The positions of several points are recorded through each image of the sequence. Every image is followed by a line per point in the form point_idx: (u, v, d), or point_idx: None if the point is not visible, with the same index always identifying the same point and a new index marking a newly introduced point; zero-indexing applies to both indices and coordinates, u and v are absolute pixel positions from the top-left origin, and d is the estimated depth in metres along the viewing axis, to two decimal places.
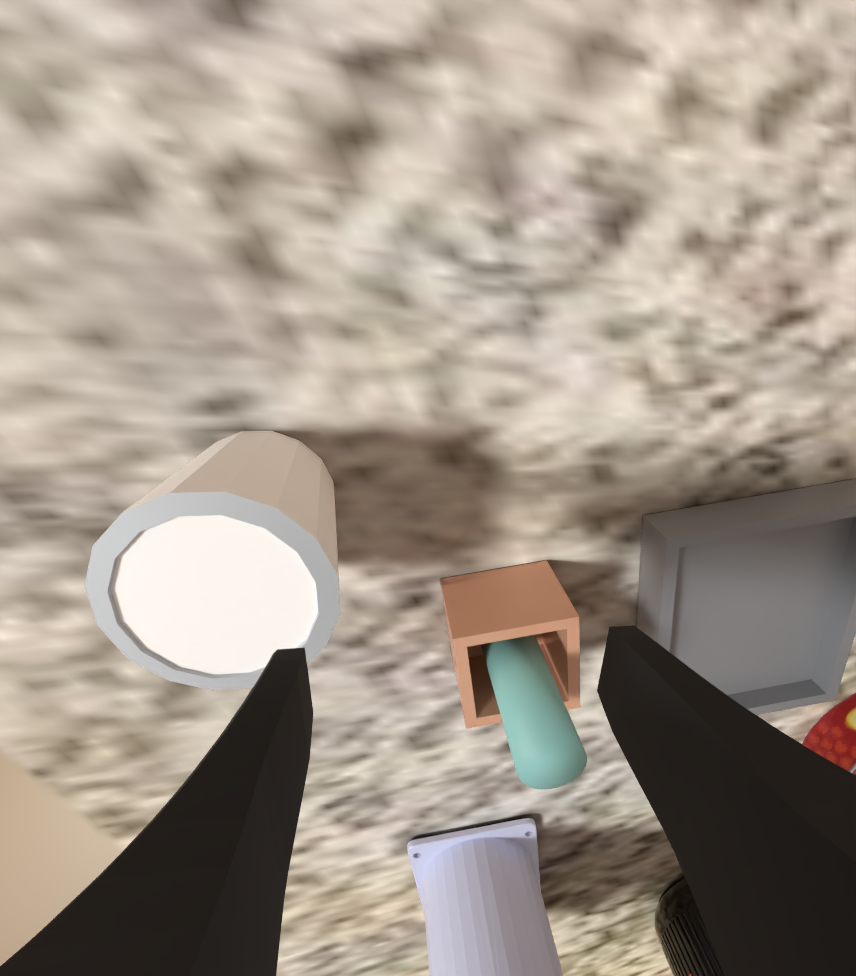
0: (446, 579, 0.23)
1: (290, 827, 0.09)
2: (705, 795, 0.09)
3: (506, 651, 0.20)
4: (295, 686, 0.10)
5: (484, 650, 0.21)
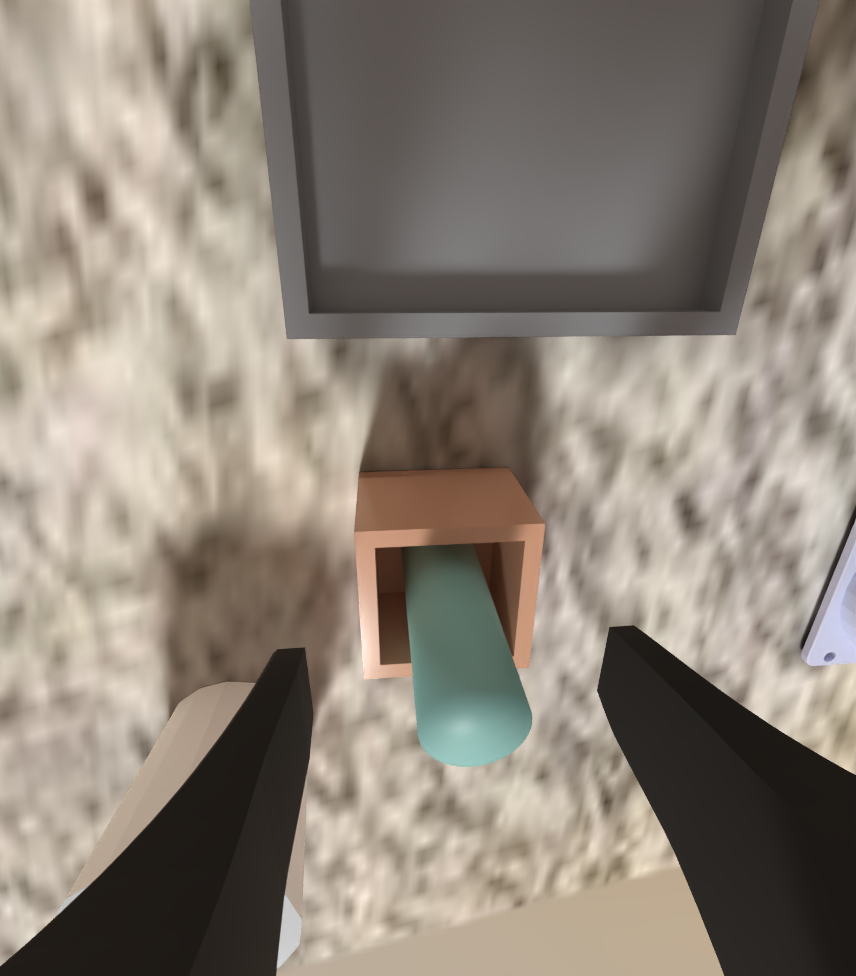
0: None
1: (290, 827, 0.09)
2: (705, 795, 0.09)
3: None
4: (295, 686, 0.10)
5: None
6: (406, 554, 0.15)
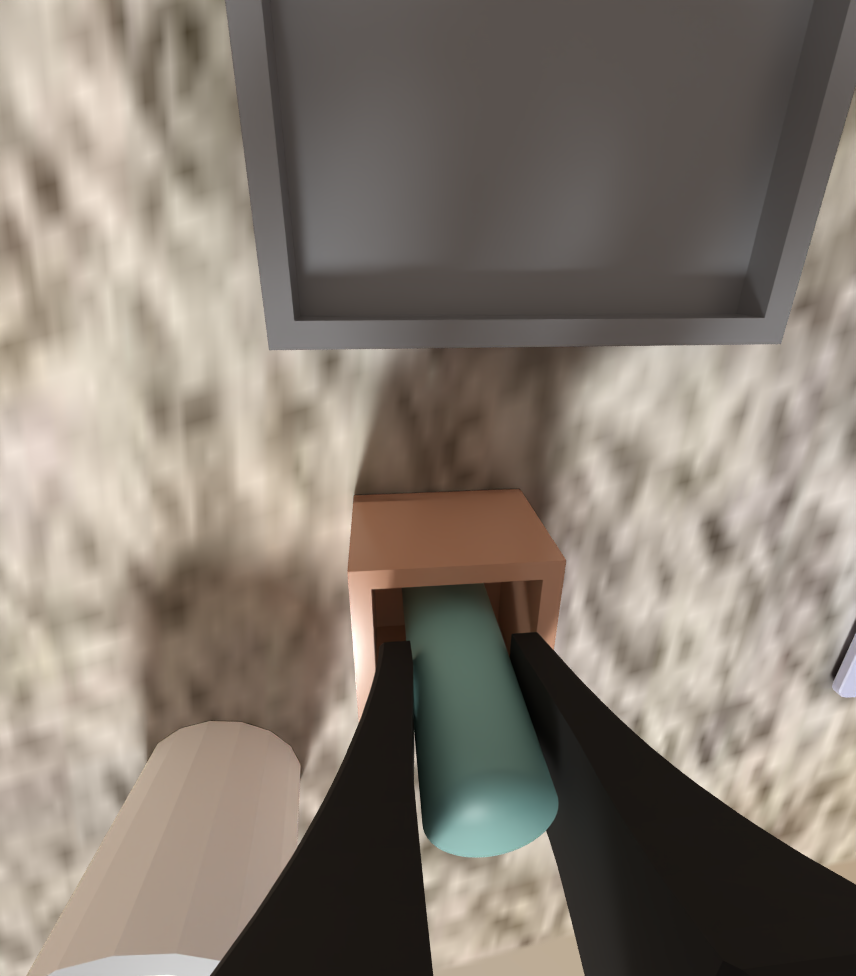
0: None
1: None
2: (575, 808, 0.08)
3: None
4: None
5: None
6: (407, 589, 0.14)
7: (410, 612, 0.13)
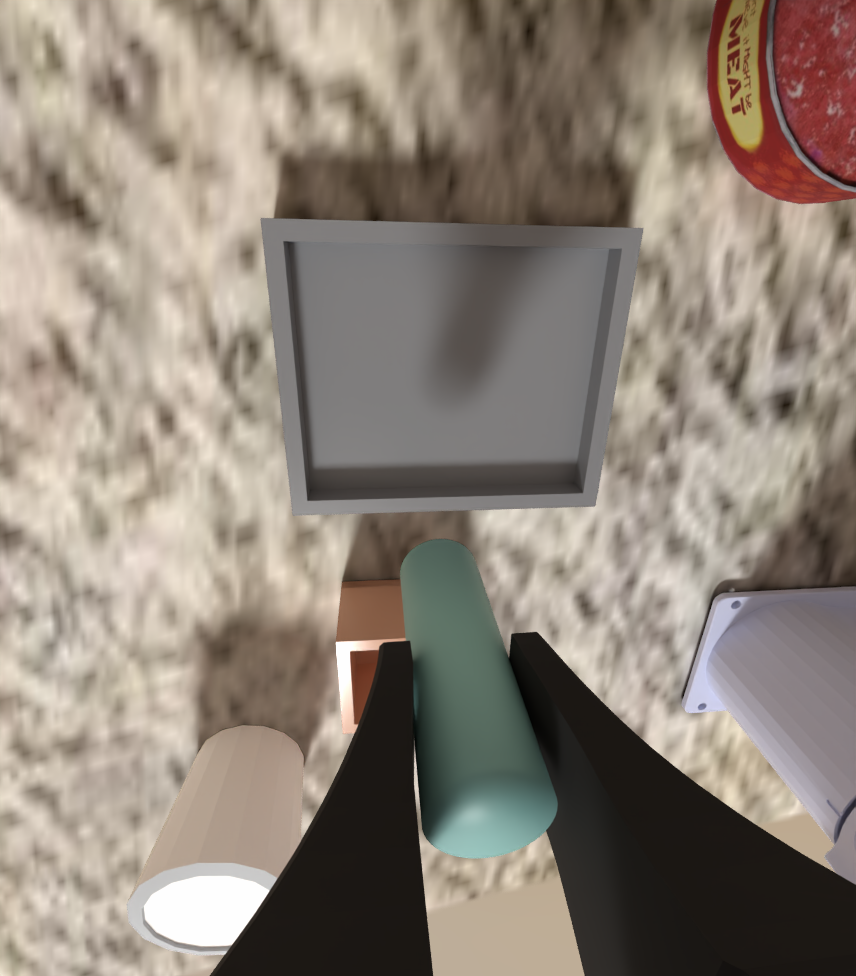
0: None
1: None
2: (575, 808, 0.08)
3: None
4: None
5: None
6: (406, 589, 0.14)
7: (410, 613, 0.13)
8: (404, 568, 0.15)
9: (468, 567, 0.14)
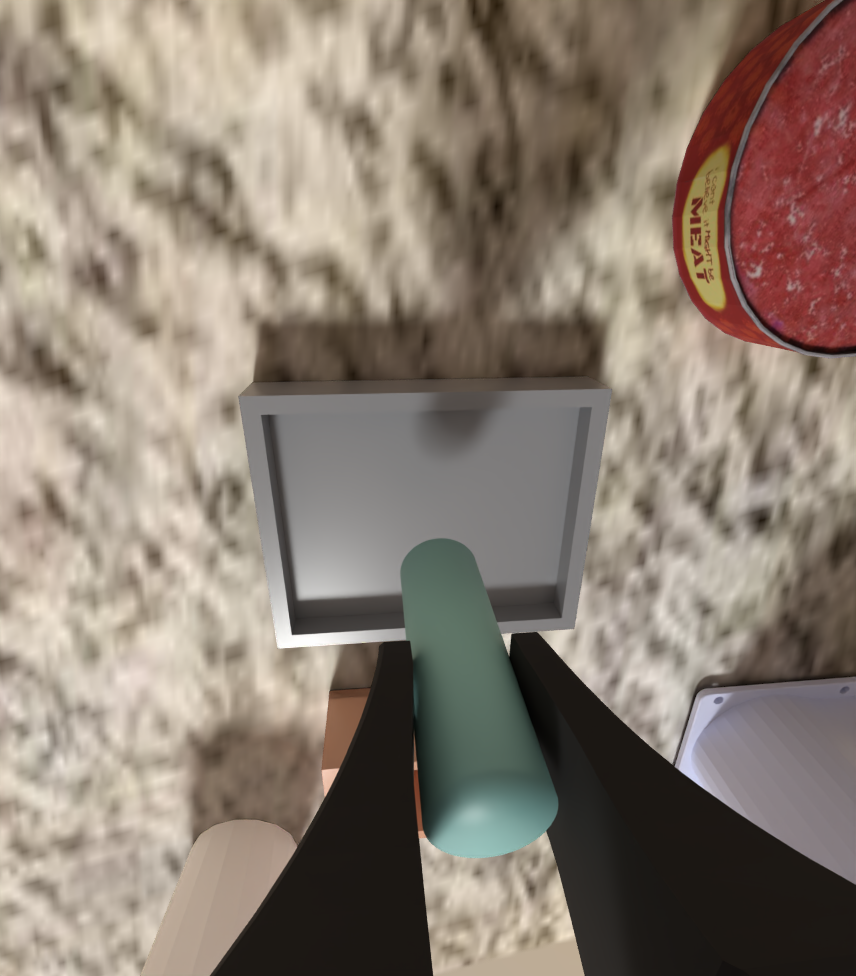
0: None
1: None
2: (575, 808, 0.08)
3: None
4: None
5: None
6: (406, 589, 0.14)
7: (410, 612, 0.13)
8: (404, 567, 0.15)
9: (469, 567, 0.14)
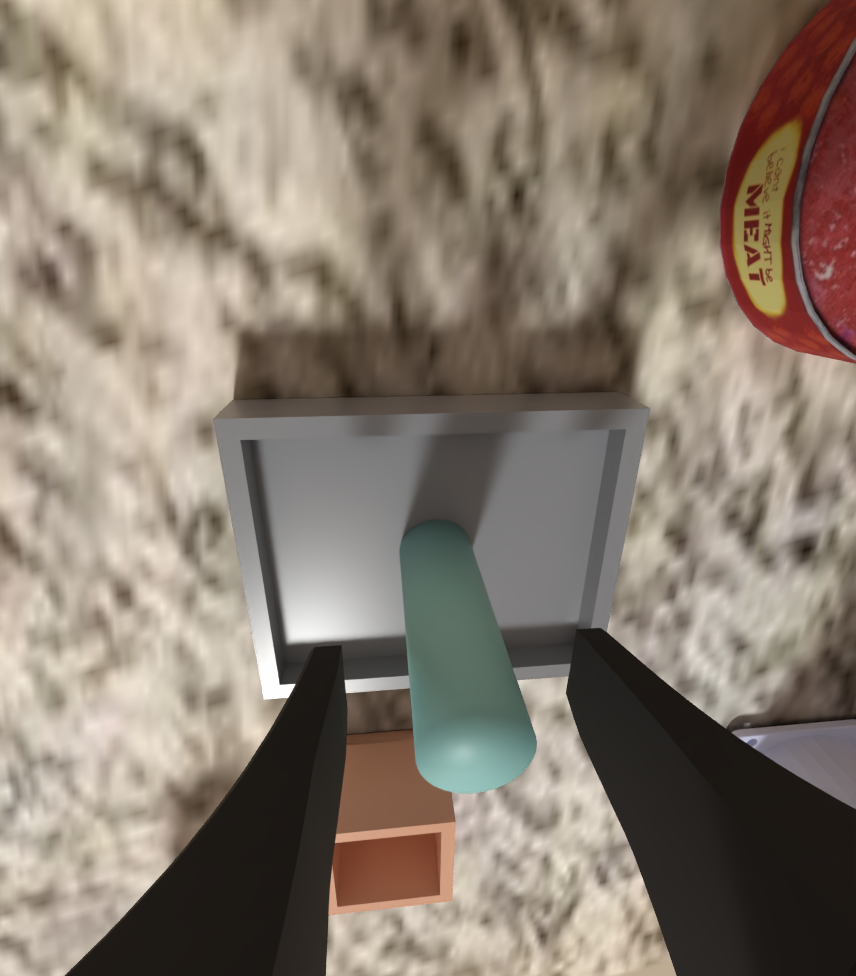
0: None
1: (333, 823, 0.09)
2: (661, 799, 0.09)
3: None
4: (336, 683, 0.10)
5: None
6: (405, 564, 0.15)
7: (407, 584, 0.14)
8: (403, 546, 0.16)
9: (462, 544, 0.15)
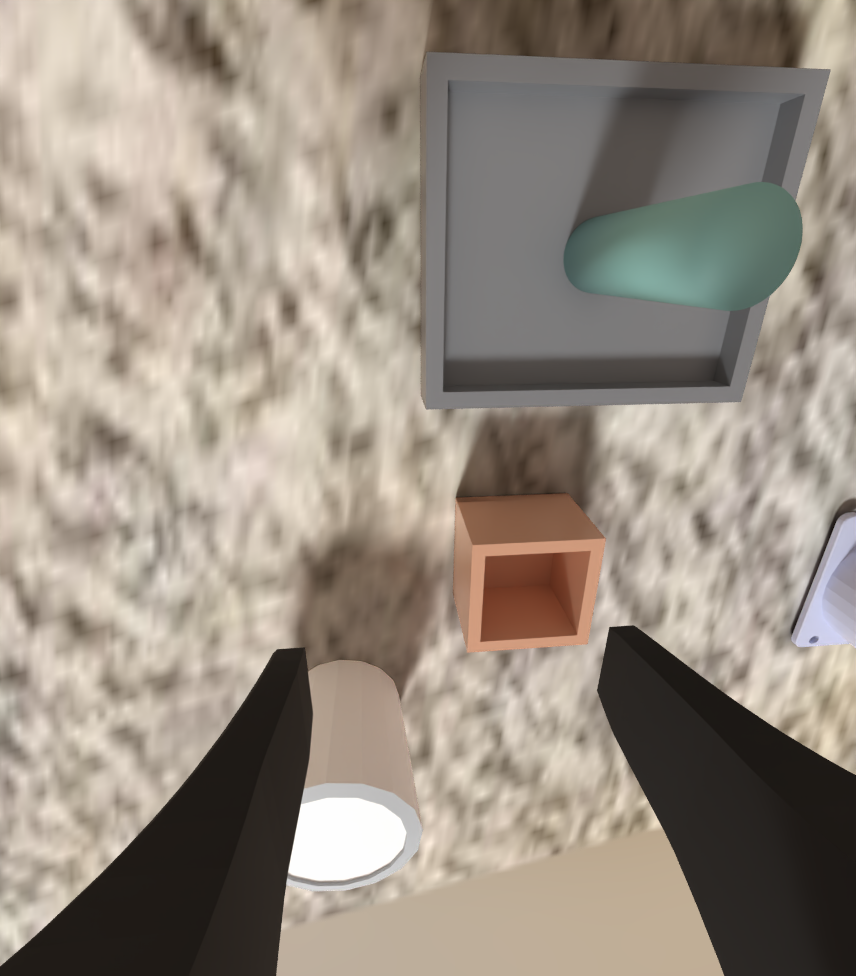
0: (453, 589, 0.23)
1: (290, 827, 0.09)
2: (705, 795, 0.09)
3: (603, 269, 0.14)
4: (295, 686, 0.10)
5: (610, 295, 0.16)
6: (586, 236, 0.15)
7: (601, 233, 0.14)
8: (573, 237, 0.16)
9: None
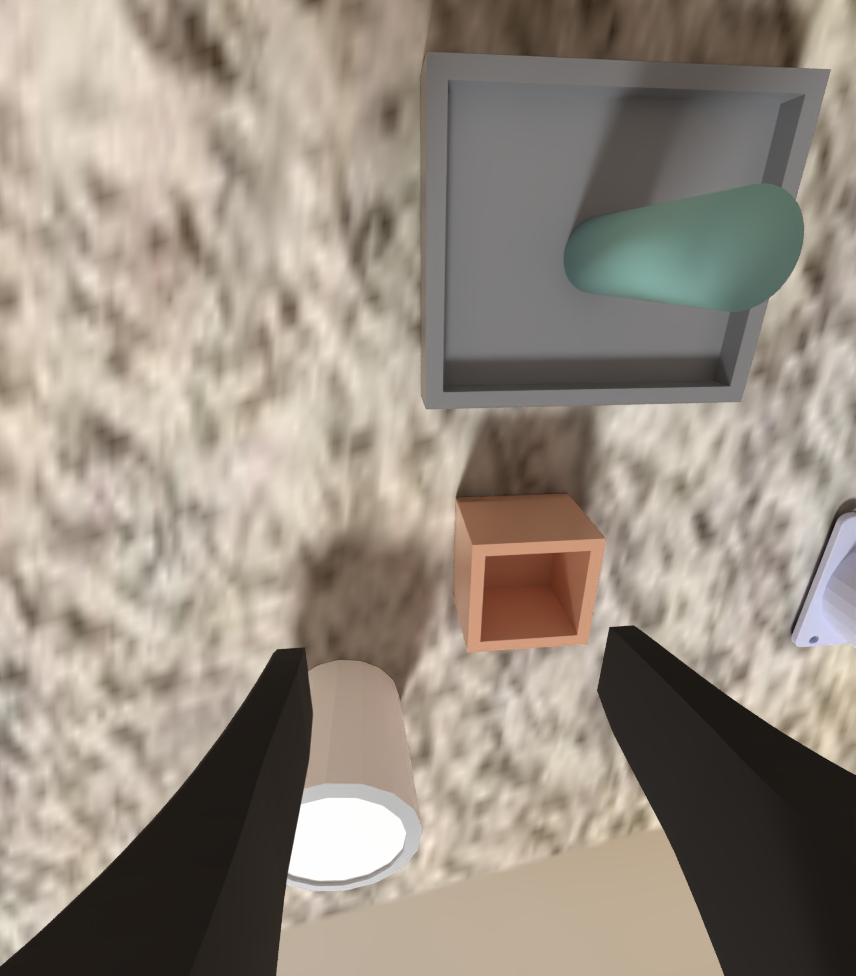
0: (453, 589, 0.23)
1: (290, 827, 0.09)
2: (705, 795, 0.09)
3: (604, 269, 0.14)
4: (295, 686, 0.10)
5: (611, 295, 0.16)
6: (586, 236, 0.15)
7: (602, 233, 0.14)
8: (574, 237, 0.16)
9: None
